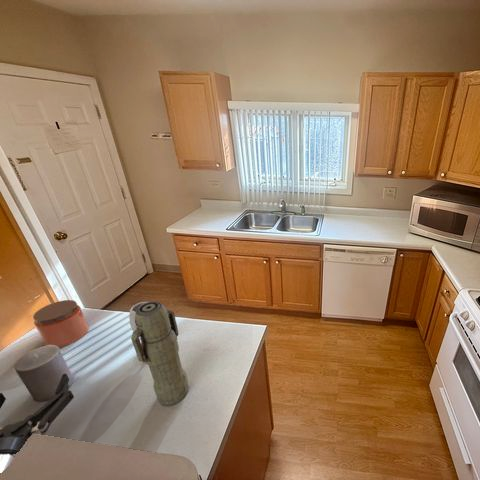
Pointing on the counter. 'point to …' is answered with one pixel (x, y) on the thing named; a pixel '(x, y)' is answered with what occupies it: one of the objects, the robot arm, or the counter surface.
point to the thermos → (160, 351)
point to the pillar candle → (43, 371)
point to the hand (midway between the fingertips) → (35, 386)
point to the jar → (61, 323)
